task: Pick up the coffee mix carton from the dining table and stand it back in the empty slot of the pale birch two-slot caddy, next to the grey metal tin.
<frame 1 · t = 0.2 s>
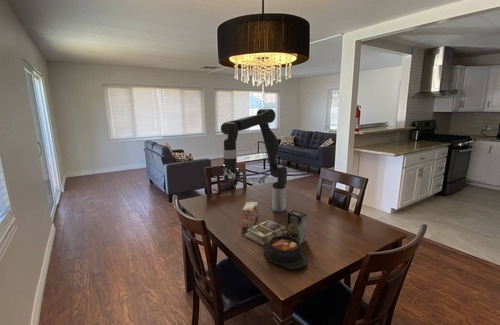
hand: (230, 183, 152), 29 cm above the table, fingers open, 8 cm apart
stack of blocks: (250, 221, 169), on the table
casserole: (284, 258, 127), on the table
caddy: (266, 234, 151), on the table
coffee box: (296, 239, 145), on the table
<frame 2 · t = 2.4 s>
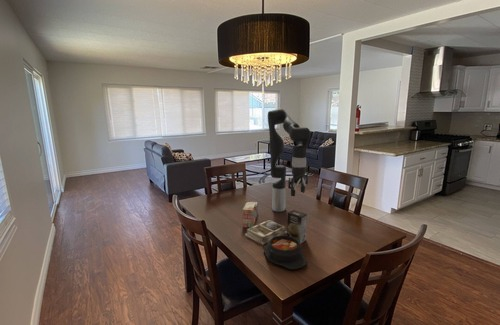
hand: (297, 194, 139), 27 cm above the table, fingers open, 8 cm apart
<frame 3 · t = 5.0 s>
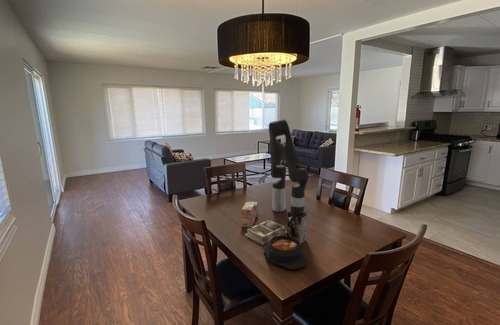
hand: (296, 231, 144), 5 cm above the table, fingers closed on coffee box, 6 cm apart
coffee box: (296, 239, 145), on the table, touching gripper
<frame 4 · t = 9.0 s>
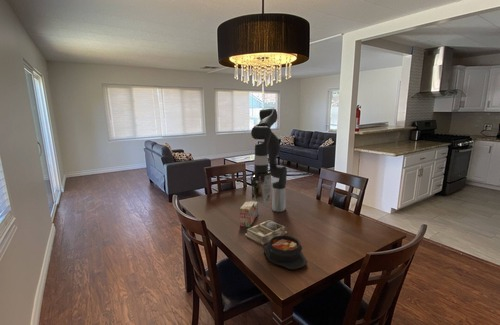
hand: (261, 192, 142), 27 cm above the table, fingers closed on coffee box, 6 cm apart
coffee box: (261, 200, 143), point 22 cm above the table, touching gripper
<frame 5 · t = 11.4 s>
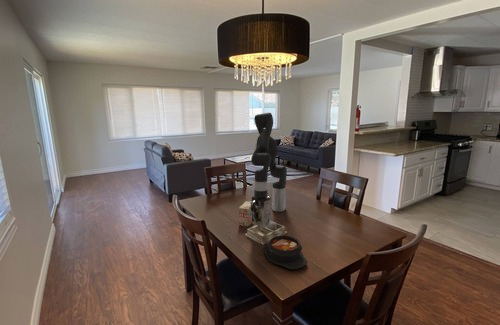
hand: (260, 216, 145), 13 cm above the table, fingers closed on coffee box, 6 cm apart
coffee box: (260, 224, 146), point 8 cm above the table, touching gripper
when the fingers open (7 cm above the table, at t = 13.4 s): coffee box stays where it is, resting on caddy.
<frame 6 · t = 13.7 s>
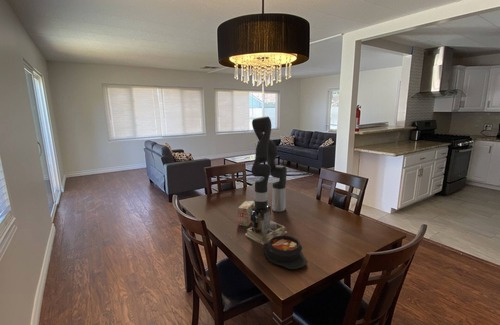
hand: (260, 225, 146), 7 cm above the table, fingers open, 8 cm apart
coffee box: (260, 235, 148), point 1 cm above the table, touching caddy
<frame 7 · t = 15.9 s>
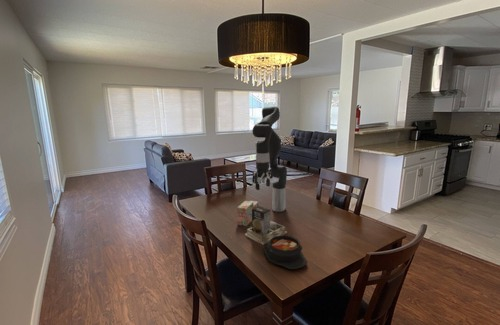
hand: (262, 187, 146), 28 cm above the table, fingers open, 8 cm apart
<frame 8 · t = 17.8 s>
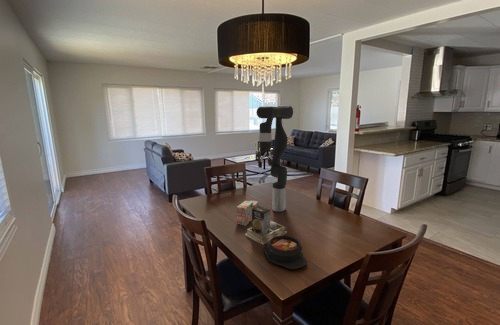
hand: (265, 166, 156), 38 cm above the table, fingers open, 8 cm apart
at the end: coffee box 0.1 cm from the target spot on the caddy, point 0.8 cm above the caddy's base; coffee box tilted 0°; the gripper is holding nothing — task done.
